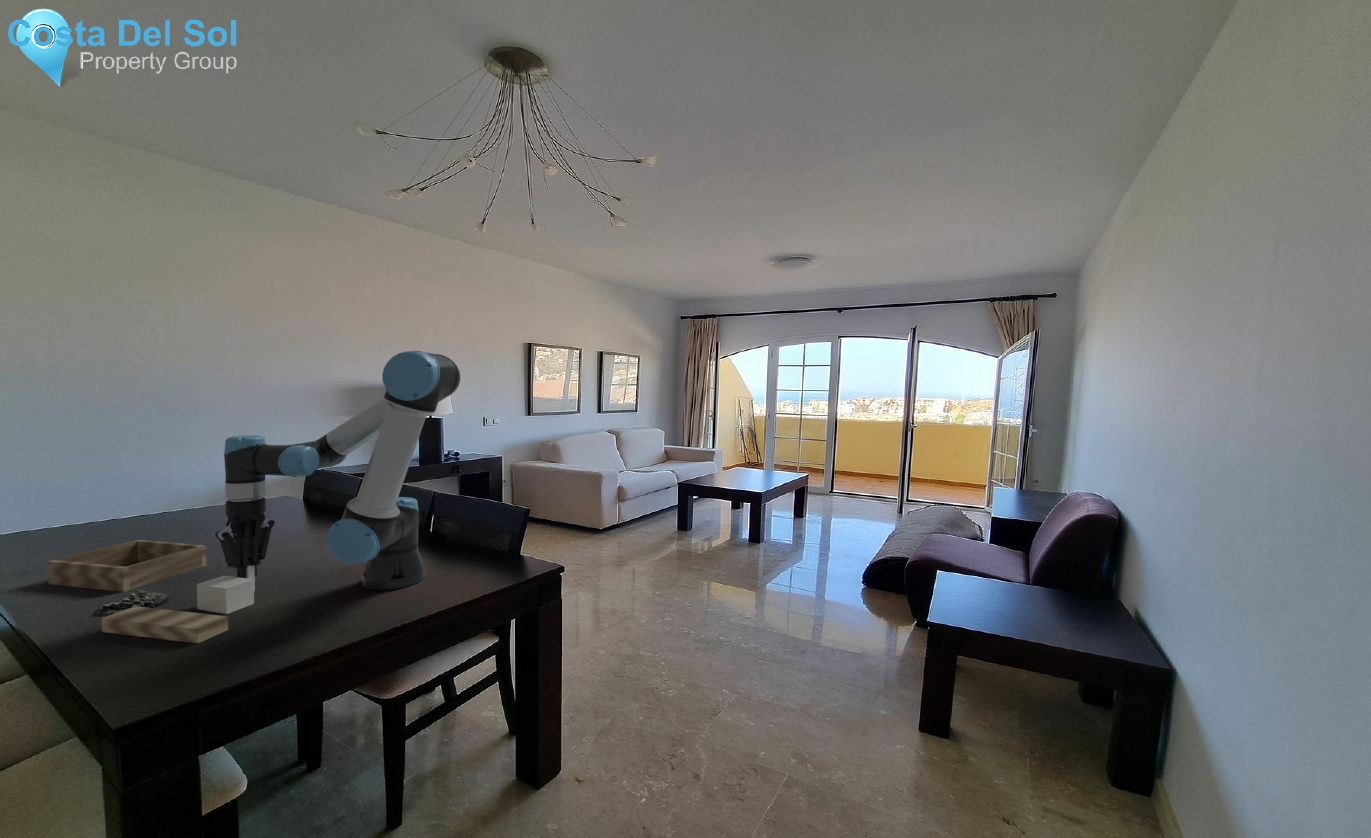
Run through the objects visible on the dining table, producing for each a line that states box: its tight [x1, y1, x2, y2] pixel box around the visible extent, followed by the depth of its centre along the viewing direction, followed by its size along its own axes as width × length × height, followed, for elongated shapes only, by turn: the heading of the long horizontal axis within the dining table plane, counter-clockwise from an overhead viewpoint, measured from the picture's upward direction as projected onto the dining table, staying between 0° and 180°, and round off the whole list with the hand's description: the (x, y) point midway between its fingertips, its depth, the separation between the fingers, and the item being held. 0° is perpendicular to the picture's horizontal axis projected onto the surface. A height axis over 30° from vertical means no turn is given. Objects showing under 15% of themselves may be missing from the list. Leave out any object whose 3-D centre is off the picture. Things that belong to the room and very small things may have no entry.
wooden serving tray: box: [47, 539, 208, 593], centre depth 139 cm, size 23×19×6 cm
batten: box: [101, 606, 229, 644], centre depth 109 cm, size 24×6×3 cm, turn 82°
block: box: [196, 575, 255, 615], centre depth 121 cm, size 9×6×6 cm, turn 77°
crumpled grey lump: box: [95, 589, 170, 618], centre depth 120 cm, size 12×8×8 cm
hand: (247, 591), depth 127 cm, fingers closed
